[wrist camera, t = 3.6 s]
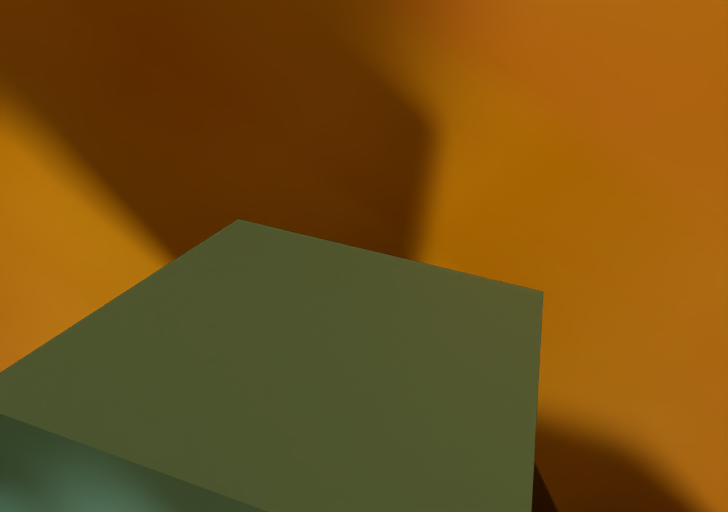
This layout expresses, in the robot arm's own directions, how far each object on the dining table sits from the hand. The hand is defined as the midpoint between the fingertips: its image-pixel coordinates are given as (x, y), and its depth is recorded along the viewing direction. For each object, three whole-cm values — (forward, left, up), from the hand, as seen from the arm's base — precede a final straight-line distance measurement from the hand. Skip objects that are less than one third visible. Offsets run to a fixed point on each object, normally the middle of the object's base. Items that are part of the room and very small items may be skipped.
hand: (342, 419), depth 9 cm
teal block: (0, 0, -1) cm, 1 cm away
